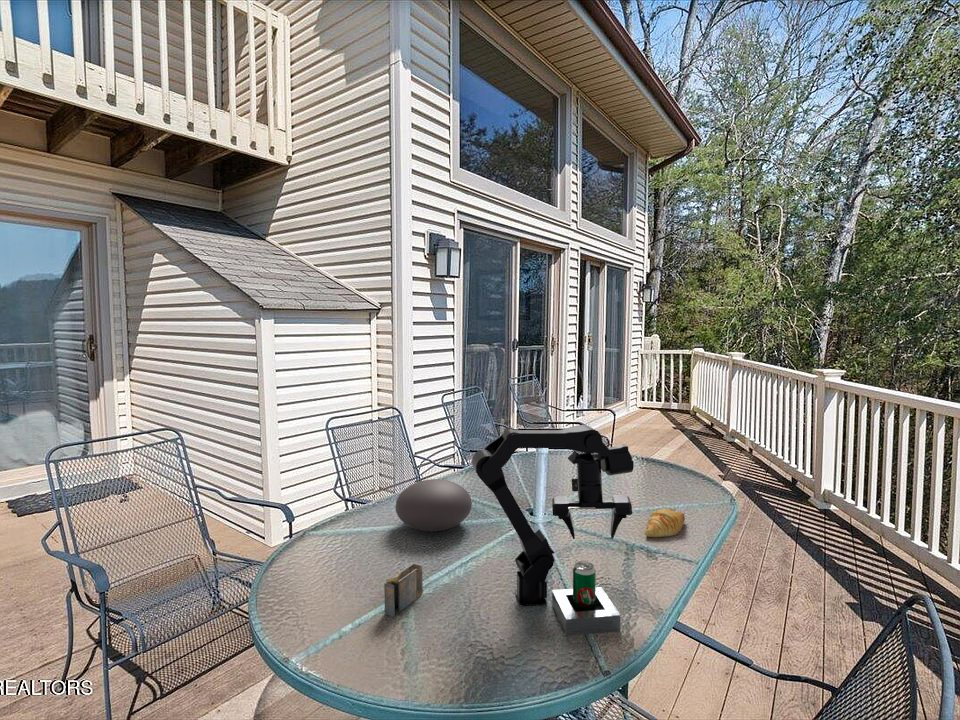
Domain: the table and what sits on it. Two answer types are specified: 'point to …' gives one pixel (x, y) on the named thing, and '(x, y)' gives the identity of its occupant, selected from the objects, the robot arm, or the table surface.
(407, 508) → the smooth stone
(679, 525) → the croissant
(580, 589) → the soda can
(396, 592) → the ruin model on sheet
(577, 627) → the sleeve block
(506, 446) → the robot arm
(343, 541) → the table surface
